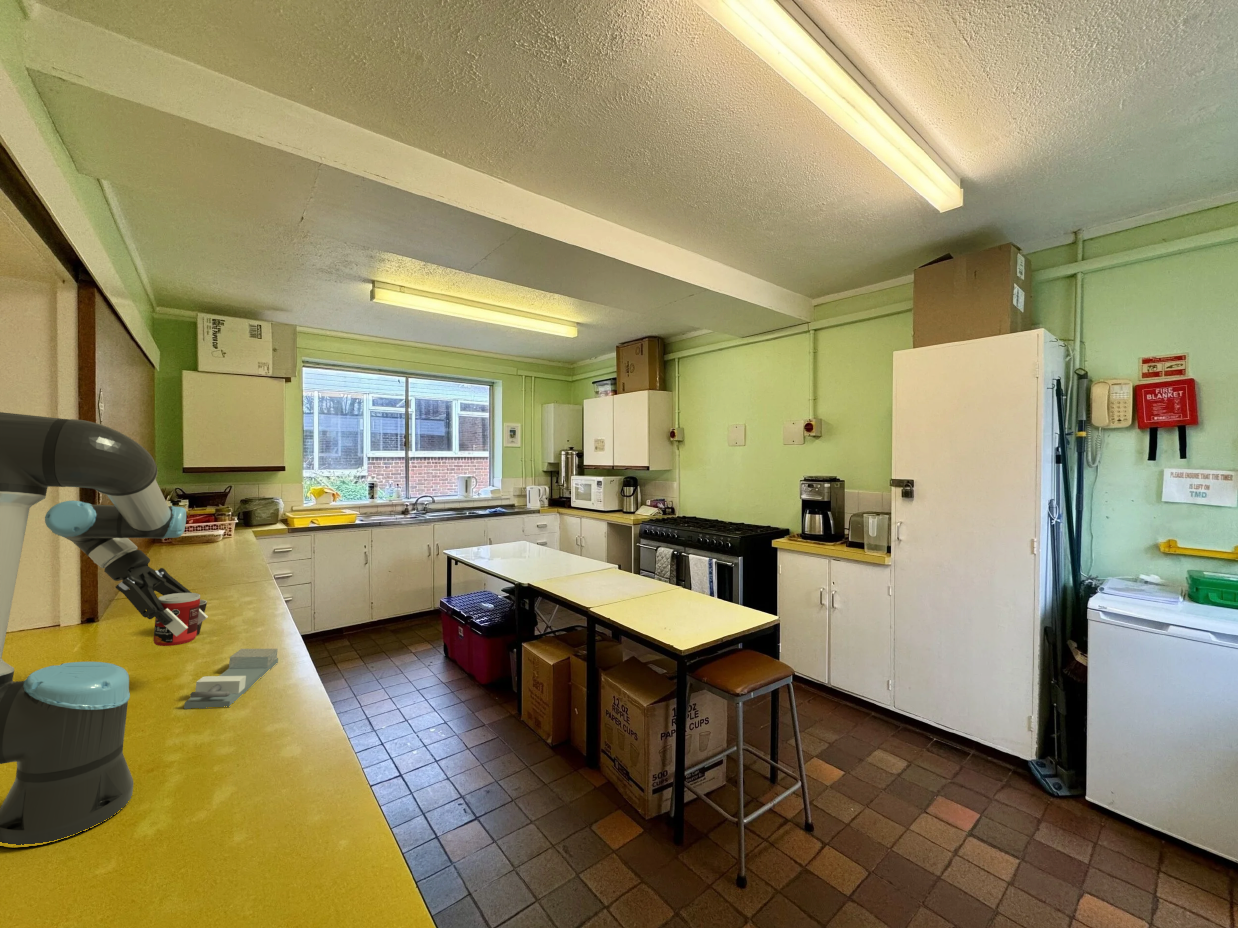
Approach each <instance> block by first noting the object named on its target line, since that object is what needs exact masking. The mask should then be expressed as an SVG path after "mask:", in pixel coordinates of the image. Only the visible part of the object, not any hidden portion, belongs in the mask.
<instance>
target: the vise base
mask: <svg viewBox="0 0 1238 928" xmlns="http://www.w3.org/2000/svg"><path fill="white" fill-rule="evenodd" d="M276 663H279V657H277V659H276V660H275V661H274V662H273V663H272V664H271V665H270V666H268V667H267V668H229V667H228V668H227V669H226V670H225V671H224V672H222V673H221V674H219V675H211V676H210V675H207V676H202V677H201V678H199V679H198V680H197V681H196V682H195V683H196V684H195V691H192V692H190V695H189V697H190V698H188V699H187V700H186V701H184V704H183V705H184V706H183V709H184V710H191V708H199V709H209V708H208V707H224V706H225V707H226V706H227V707H229V706H230V705H231V704H232V703H234V701H236V700H237V699H238V698H239V697H240V696H241V695H242V694H244V693H245V692H246V691H247V690H248V689H249V688H250V687H251V686H252V685H253V684H254V683H255V682H256V681H257V680H258V679H259V678H260V677H262V676H263V675H264V674H265V673H266V672H267V671H268V670H269V669H271V668H272V667H273V666H274V665H275V664H276ZM276 665H277V664H276ZM276 665H275V666H276ZM275 666H274V667H275ZM274 667H273V668H274ZM273 668H272V669H273ZM272 669H271V670H272ZM264 676H265V675H264ZM264 676H263V677H264ZM263 677H262V678H263ZM253 686H254V685H253ZM253 686H252V687H253ZM252 687H251V688H252ZM251 688H250V689H251ZM250 689H249V690H250ZM249 690H248V691H249ZM248 691H247V692H248ZM247 692H246V693H247ZM246 693H245V694H246ZM245 694H244V695H245ZM241 697H242V696H241ZM241 697H240V698H241ZM240 698H239V699H240ZM239 699H238V700H239ZM238 700H237V701H238ZM237 701H236V702H237ZM234 704H235V703H234ZM206 707H207V708H206ZM230 707H231V706H230ZM230 707H229V708H230Z"/></svg>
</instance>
